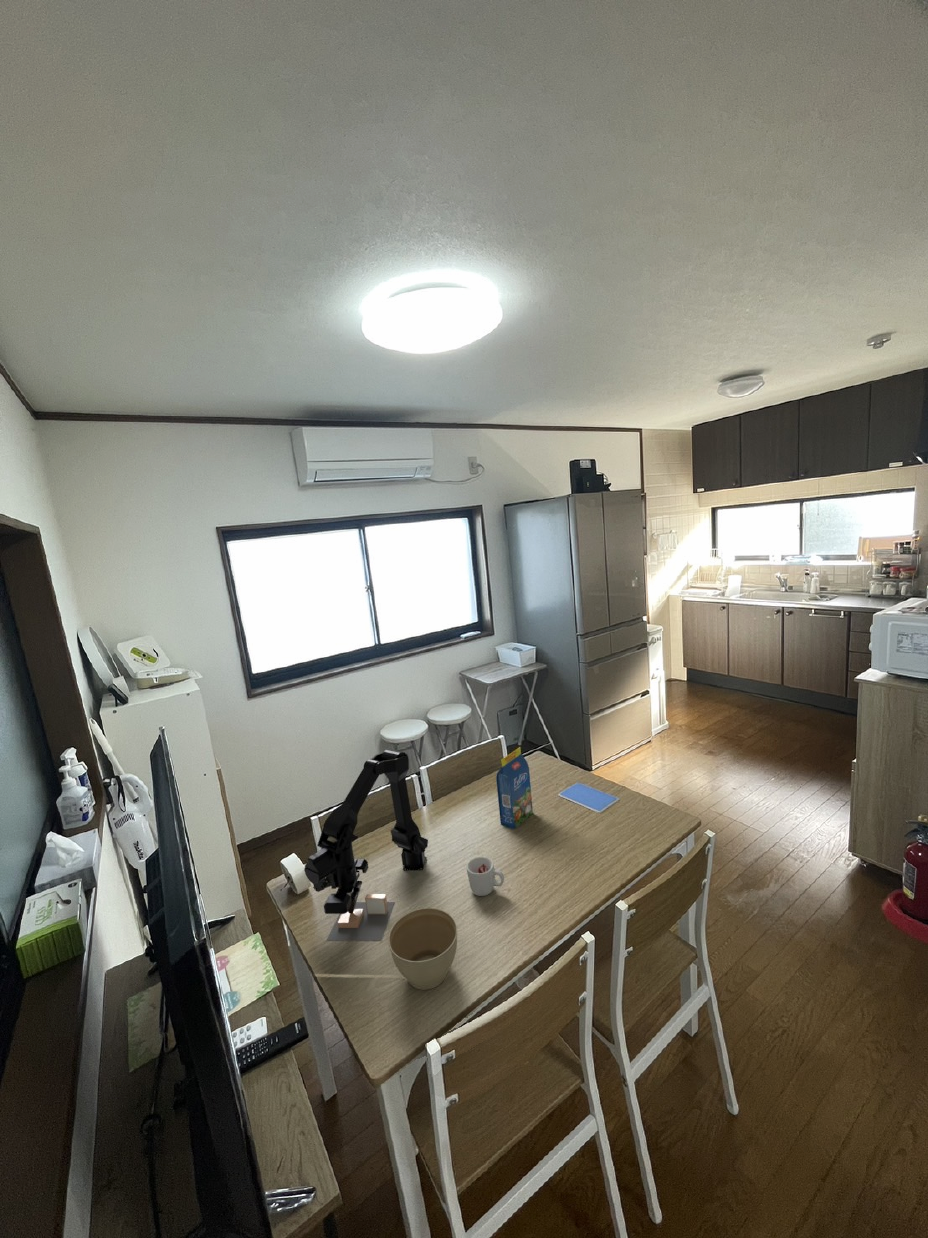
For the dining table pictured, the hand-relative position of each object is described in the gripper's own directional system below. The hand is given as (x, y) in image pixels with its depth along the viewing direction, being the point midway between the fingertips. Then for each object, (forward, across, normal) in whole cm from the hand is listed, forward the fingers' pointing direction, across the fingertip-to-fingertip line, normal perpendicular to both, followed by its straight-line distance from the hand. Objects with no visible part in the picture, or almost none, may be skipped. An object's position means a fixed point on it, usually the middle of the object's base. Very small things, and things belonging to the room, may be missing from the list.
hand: (351, 912), depth 138 cm
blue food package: (+3, -48, +44) cm, 66 cm away
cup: (+3, -12, +36) cm, 38 cm away
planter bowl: (+3, +16, +24) cm, 30 cm away
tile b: (+1, -2, 0) cm, 2 cm away
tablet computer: (+3, -61, +71) cm, 94 cm away
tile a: (+2, -2, +6) cm, 7 cm away
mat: (+2, 0, +3) cm, 4 cm away
